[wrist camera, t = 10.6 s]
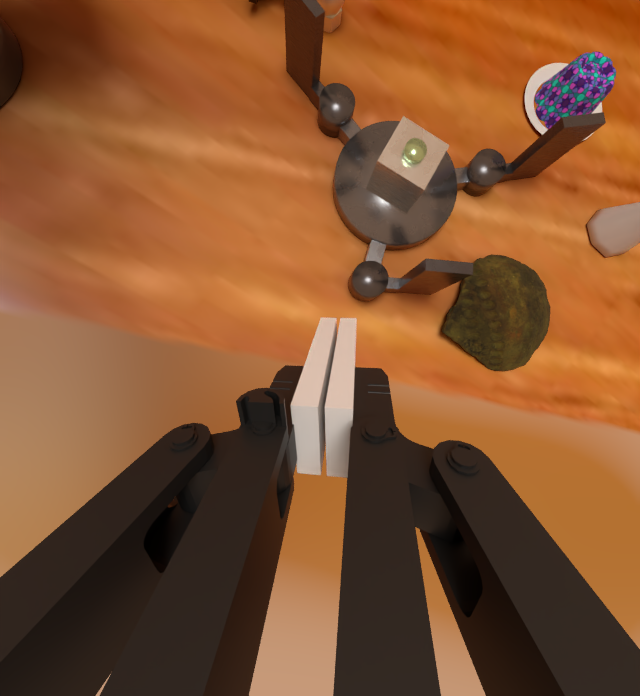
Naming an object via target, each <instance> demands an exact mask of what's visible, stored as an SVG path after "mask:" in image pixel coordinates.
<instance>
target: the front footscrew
mask: <svg viewBox="0 0 640 696" xmlns="http://www.w3.org/2000/svg"><path fill="white" fill-rule="evenodd" d="M471 275H473V263H467V262H456V261H445V260H434V259H425V260H424V261H422V262H421V263H420V264H419V265H417V266H416V267H415V268H413V269H412V270H411V271H409V272H408V273H407V274H406V275H404V276H403V277H402V278H390V277H388V273H387V271H386V269H385V268H384V266H383V265H381V264H380V263H378V262H376V261H364V262H362V263H360V264H359V265H358V266H357V267H356V269H355V270H354V272H353V273H352V275H351V276H350V278H349V281H348V288H349V291H350V293H351V295H352V296H353V297H354V298H355V299H357V300H359V301H363V302H367V301H371V300H373V299H375V298H376V297H377V296H379V295H380V294H381V293H382V292H392V293H396V292H401V293H414V294H426V295H431V294H433V293H435V292H437V291H439V290H441V289H444V288H446V287H448V286H450V285H452V284H454V283H456V282H458V281H460V280H463V279H465V278H467V277H469V276H471Z"/></svg>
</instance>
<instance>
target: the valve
mask: <svg viewBox="0 0 640 696" xmlns="http://www.w3.org/2000/svg"><path fill="white" fill-rule="evenodd" d="M316 1H317V2H318V3H319V4H320V5H321V7H322V8H323V9H324V10H325V18H324V30H323V31H325V32H328V33H331V32H333V31H334V30H335V29H336V28H337V27H338V26H339V25H340V23H341V15H342V8H341V7H342V5H343V3H344V0H316ZM249 2H252V3H255V4H257V2H258V0H249Z"/></svg>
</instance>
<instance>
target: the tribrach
mask: <svg viewBox="0 0 640 696" xmlns="http://www.w3.org/2000/svg"><path fill="white" fill-rule="evenodd" d="M284 3H285V34H286V65H287V72H288V73H289V74H290V75H291V77H292V78H293V79H294V80H295V81H296V83H297V84H298V85H299V86H300V87H301V89H302V90H303V91H304V92H305V94H306V95H307V96H308V97H309V98H310V101H311V102H312V103H313V104H314V106H315V107H316V108H317V109H318V125H319V128H320V129H321V131H322V132H323V133H324V134H326V135H327V136H330V137H338V138H339V139H340V140H341V141H342V143H343V144H344V145H345V146H344V148H343V149H342V151H341V153H340V155H339V158H338V161H337V165H336V170H335V175H334V180H333V197H334V202H335V206H336V209H337V211H338V213H339V215H340V217H341V219H342V221H343V222H344V224H345V225H346V226H347V228H348V229H349V230H350V231H351V232H352V233H353V234H354V235H355V236H356V237H358V238H359V239H361V240H362V241H364V242H366V243H367V244H369V245H368V248H367V251H366V255H365V258H364V261H376V262H378V263H380V264H381V262H382V258H383V255H384V251H385V249H386V250H402V249H408V248H411V247H414V246H417V245H419V244H421V243H422V242H424V241H425V240H427V239H428V238H429V237H431V236H432V235H433V234H434V233H435V232H436V231H437V230H438V229H439V228H441V227H442V225H443V224H444V223H445V222H446V220H447V219H448V217H449V216H450V214H451V212H452V210H453V207H454V204H455V201H456V195H457V190H460V189H463V190H464V191H465V192H466V193H467V194H469V195H472V196H480V195H482V194H484V193H485V192H486V191H487V190H489V189H490V188H491V187H492V186H493V185H494V184H495V183H499V182H504V181H507V180H514V179H522V178H529V177H535V176H537V175H538V174H539V173H540V172H542V171H543V170H544V169H546V168H547V167H548V166H550V165H551V164H552V163H554V162H555V161H556V160H558V159H559V158H560V157H562V156H563V155H564V154H565V153H567V152H568V151H569V150H571V149H572V148H573V147H575V146H576V145H577V144H579V143H580V142H581V141H583V140H584V139H585V138H586V137H588V136H589V135H590V134H592V133H593V132H594V131H596V130H597V129H598V128H600V127H601V126H602V125H604V124H605V123H606V122H605V118H604V113H603V112H602V113H593V114H584V115H575V116H567V117H562V118H561V119H559V120H558V121H557V122H556V123H555V124H554V125H553V126H552V127H551V128H550V129H548V130H547V131H546V132H545V133H544V134H543V135H542V136H541V137H540V138H538V139H537V140H536V141H535V142H534V143H533V144H532V145H531V146H530V147H529V148H527V149H526V150H525V151H524V152H523V153H522V154H521V155H520V156H519V157H518V158H516V159H515V160H514V161H513V162H512V163H509V164H506V163H505V160H504V158H503V156H502V155H501V154H500V153H499V152H497V151H496V150H493V149H484V150H481V151H480V152H478V153H477V155H476V156H475V157H474V158H473V159H472V160H471V161H470V162H469V164H468V165H467V166H466V167H464V168H456V169H455V168H454V166H453V163H452V160H451V158H450V156H449V154H448V153H447V149H448V147H449V145H448V144H446V143H445V142H443V141H442V140H440V139H438V138H437V137H435V136H434V135H432V134H431V133H429V132H428V131H426V130H424V129H423V128H421V127H420V126H418V125H417V124H415V123H413V122H412V121H410V120H409V119H407V118H406V117H404V116H403V118H402V119H401V121H400V122H399V121H385V122H379V123H375V124H372V125H370V126H367V127H365V128H363V129H362V130H361V129H360V128H359V127H358V125H357V124H356V123H355V122H354V120H353V119H352V115H353V111H354V107H355V98H354V95H353V93H352V91H351V90H350V89H349V88H348V87H347V86H345V85H343V84H339V83H332V84H329V85H327V86H326V87H324V86H323V85H322V84H321V82H320V81H319V78H320V66H321V54H322V42H323V30H324V18H325V10H324V9H323V8H322V7H321V5H320V4H319V3H318V2H317V1H316V0H284Z"/></svg>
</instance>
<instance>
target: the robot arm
mask: <svg viewBox="0 0 640 696" xmlns="http://www.w3.org/2000/svg"><path fill="white" fill-rule="evenodd" d="M21 72H22V54H21V50H20V46H19V43H18V41H17V39H16V37H15V35H14V33H13V32H12V30H11V29H10V28H9V26H8V25H7V24H6V23H5V22H4V21H3V19H2V18H1V17H0V106H2V105H3V104H4V103H5V102H6V101H7V100H8V99H9V98H10V96H11V95H12V94H13V92H14V91H15V89H16V87H17V85H18V83H19V80H20V77H21ZM356 322H357V318H340V324H339V330H338V335H337V318H321V319H320V322H319V325H318V328H317V330H316V333H315V336H314V339H313V342H312V345H311V348H310V351H309V353H308V356H307V359H306V362H305V365H304V366H284V367H283V368H282V369H281V370H280V371H278V372H277V374H276V376H275V378H274V380H273V382H272V384H271V386H270V388H258V389H255V390H251V391H248V392H247V393H245V394H243V395H241V396H240V397H239V399H238V400H237V401H236V403H237V408H238V412H239V417H240V422H241V426H240V427H239V429H236V430H233V431H229V432H223V433H217V434H210V431H209V429H208V427H207V426H205V425H203V424H198V423H191V424H185V425H182V426H179V427H177V428H175V429H173V430H172V431H170V432H169V433H167V434H166V435H164V436H163V437H162V438H161V439H160V440H159V441H158V442H156V443H155V444H154V445H153V446H152V447H151V448H149V449H148V450H147V451H146V452H145V453H144V454H143V455H141V456H140V457H139V458H138V459H137V460H136V461H134V462H133V463H132V464H131V465H130V466H129V467H128V468H126V469H125V470H124V471H123V472H122V473H121V474H120V475H118V476H117V477H116V478H115V479H114V480H112V481H111V482H110V483H109V484H108V485H107V486H105V487H104V488H103V489H102V490H101V491H100V492H99V493H97V494H96V495H95V496H94V497H93V498H92V499H90V500H89V501H88V502H87V503H86V504H85V505H84V506H82V507H81V508H80V509H79V510H78V511H77V512H76V513H74V514H73V515H72V516H71V517H70V518H68V519H67V520H66V521H65V522H64V523H63V524H62V525H60V526H59V527H58V528H57V529H56V530H55V531H53V532H52V533H51V534H50V535H49V536H48V537H47V538H45V539H44V540H43V541H42V542H41V543H40V544H38V545H37V546H36V547H35V548H34V549H33V550H32V551H30V552H29V553H28V554H27V555H26V556H25V557H23V558H22V559H21V560H20V561H19V562H18V563H17V564H15V565H14V566H13V567H12V568H11V569H10V570H9V571H7V572H6V573H5V574H4V575H3V576H1V577H0V696H95V695H96V694H97V692H98V691H99V690H100V688H101V687H102V685H103V684H104V682H105V681H106V679H107V678H108V677H109V675H110V674H111V675H110V677H109V679H108V681H107V683H106V684H105V686H104V688H103V690H102V692H101V694H100V696H249V691H250V686H251V682H252V677H253V673H254V668H255V664H256V660H257V655H258V650H259V646H260V641H261V636H262V632H263V628H264V623H265V619H266V614H267V609H268V605H269V600H270V596H271V591H272V587H273V582H274V578H275V573H276V568H277V564H278V559H279V555H280V550H281V546H282V541H283V536H284V532H285V528H286V522H287V518H288V514H289V509H290V505H291V500H292V496H293V491H294V479H293V475H294V470H295V466H296V464H297V473H302V474H313V475H321V472H322V465H323V458H324V450H325V444H326V465H327V476H336V477H346V478H347V493H346V509H345V524H344V539H343V556H342V570H341V587H340V601H339V617H338V632H337V648H336V664H335V678H334V694H333V696H441V694H440V687H439V680H438V674H437V667H436V661H435V654H434V648H433V641H432V635H431V628H430V621H429V615H428V609H427V602H426V596H425V589H424V582H423V576H422V570H421V563H420V556H419V550H418V544H417V536H416V530H415V527H417V528H419V529H420V532H421V534H422V537H423V539H424V542H425V544H426V547H427V549H428V552H429V554H430V557H431V559H432V562H433V564H434V567H435V569H436V572H437V574H438V577H439V579H440V582H441V584H442V587H443V589H444V592H445V594H446V597H447V599H448V602H449V604H450V607H451V609H452V612H453V614H454V617H455V619H456V622H457V624H458V627H459V629H460V632H461V634H462V637H463V639H464V642H465V645H466V647H467V650H468V652H469V655H470V657H471V659H472V662H473V665H474V667H475V670H476V672H477V675H478V677H479V679H480V682H481V685H482V687H483V690H484V692H485V694H486V696H640V649H639V648H638V647H637V645H636V644H635V643H634V642H633V640H632V639H631V638H630V637H629V635H628V634H627V633H626V632H625V630H624V629H623V628H622V626H621V625H620V624H619V623H618V621H617V620H616V619H615V617H614V616H613V615H612V614H611V612H610V611H609V610H608V609H607V608H606V606H605V605H604V604H603V602H602V601H601V600H600V599H599V597H598V596H597V595H596V593H595V592H594V591H593V590H592V588H591V587H590V586H589V584H588V583H587V582H586V581H585V579H584V578H583V577H582V576H581V574H580V573H579V572H578V570H577V569H576V568H575V567H574V565H573V564H572V563H571V562H570V560H569V559H568V558H567V556H566V555H565V554H564V553H563V551H562V550H561V549H560V548H559V546H558V545H557V544H556V542H555V541H554V540H553V539H552V537H551V536H550V535H549V534H548V532H547V531H546V530H545V528H544V527H543V526H542V525H541V524H540V522H539V521H538V520H537V518H536V517H535V516H534V514H533V513H532V512H531V511H530V509H529V508H528V507H527V506H526V504H525V503H524V502H523V501H522V499H521V498H520V497H519V495H518V494H517V493H516V492H515V490H514V489H513V488H512V487H511V485H510V484H509V483H508V481H507V480H506V479H505V478H504V476H503V475H502V474H501V473H500V471H499V470H498V469H497V467H496V466H495V465H494V464H493V462H492V461H491V460H490V459H489V458H488V457H487V456H486V455H485V454H484V453H483V452H482V451H481V450H479V449H478V448H476V447H474V446H472V445H471V444H468V443H464V442H461V441H453V440H452V441H451V440H448V441H445V442H441V443H439V444H438V445H437V446H436V447H435V448H434V449H432V448H429V447H426V446H423V445H419V444H417V443H415V442H412V441H411V440H409V439H407V438H406V437H404V436H403V435H402V434H401V433H400V432H399V429H398V428H397V427H396V424H395V420H394V414H393V407H392V401H391V395H390V388H389V381H388V376H387V375H386V374H385V372H384V371H383V370H382V369H381V368H357V367H355V354H356ZM173 499H174V500H173ZM111 672H112V673H111Z"/></svg>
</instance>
